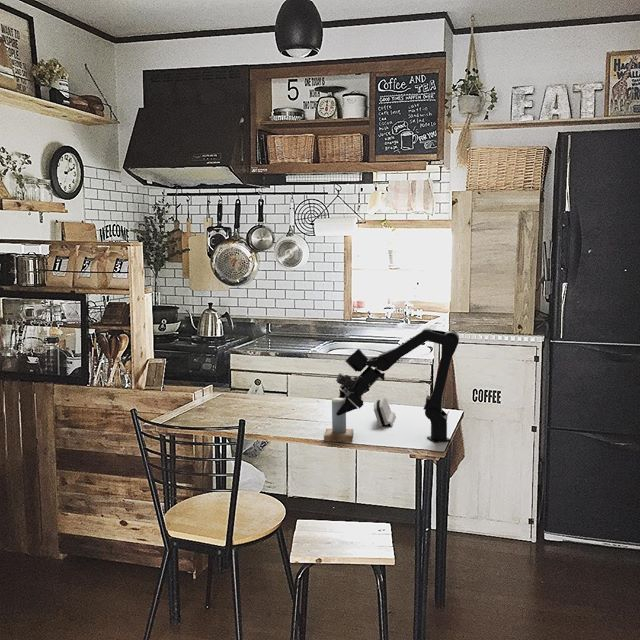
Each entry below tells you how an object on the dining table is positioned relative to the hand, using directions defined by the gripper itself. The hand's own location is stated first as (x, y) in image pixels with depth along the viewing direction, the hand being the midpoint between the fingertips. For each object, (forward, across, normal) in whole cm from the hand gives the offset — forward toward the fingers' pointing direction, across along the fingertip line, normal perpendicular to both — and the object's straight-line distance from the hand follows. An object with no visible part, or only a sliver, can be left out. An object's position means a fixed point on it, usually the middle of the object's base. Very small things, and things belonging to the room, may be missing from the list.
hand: (335, 412), depth 279 cm
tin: (+4, 0, +6) cm, 7 cm away
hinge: (-9, -21, +23) cm, 33 cm away
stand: (+6, 0, +8) cm, 10 cm away
